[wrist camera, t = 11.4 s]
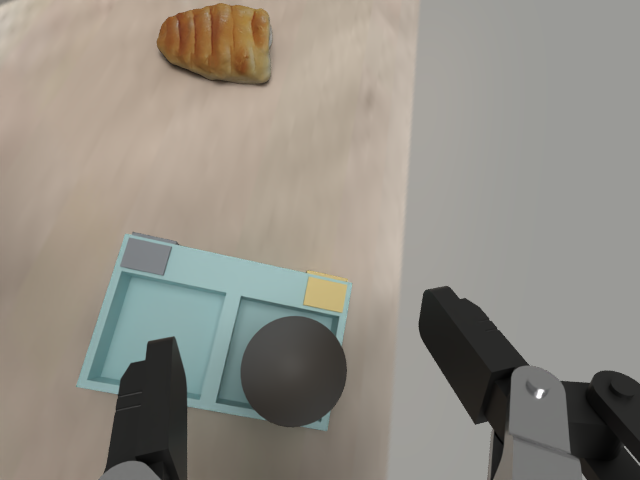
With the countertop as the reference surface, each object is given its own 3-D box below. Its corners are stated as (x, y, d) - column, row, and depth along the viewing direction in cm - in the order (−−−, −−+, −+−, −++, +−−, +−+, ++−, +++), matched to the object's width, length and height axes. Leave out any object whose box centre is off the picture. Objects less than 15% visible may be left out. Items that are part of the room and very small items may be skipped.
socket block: (93, 382, 29) (73, 387, 26) (137, 239, 32) (125, 228, 28) (319, 422, 31) (327, 432, 28) (344, 284, 33) (354, 278, 30)
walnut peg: (232, 363, 30) (217, 379, 18) (274, 312, 31) (287, 294, 19) (282, 404, 30) (302, 451, 18) (322, 352, 31) (367, 360, 19)
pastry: (159, 85, 35) (149, 55, 31) (161, 16, 37) (152, -21, 33) (273, 89, 37) (276, 61, 33) (271, 23, 38) (273, -11, 35)
